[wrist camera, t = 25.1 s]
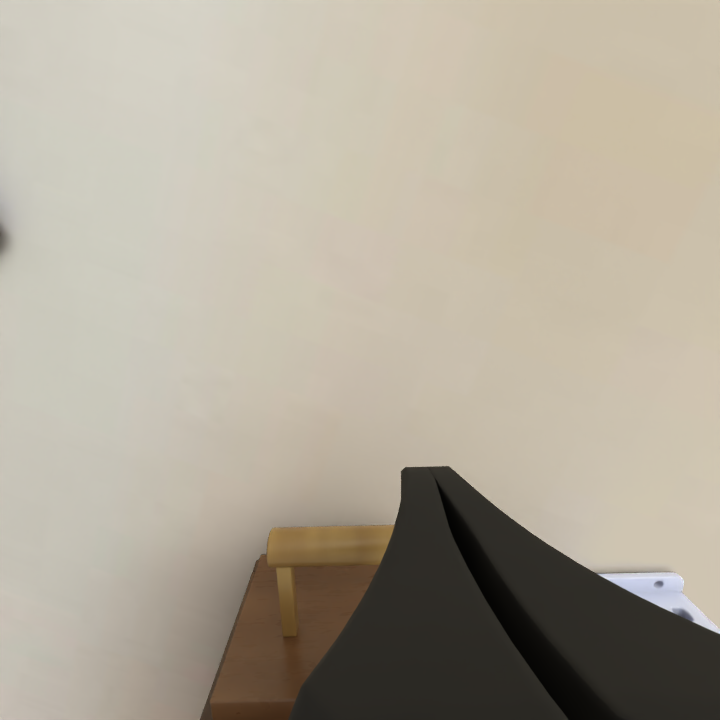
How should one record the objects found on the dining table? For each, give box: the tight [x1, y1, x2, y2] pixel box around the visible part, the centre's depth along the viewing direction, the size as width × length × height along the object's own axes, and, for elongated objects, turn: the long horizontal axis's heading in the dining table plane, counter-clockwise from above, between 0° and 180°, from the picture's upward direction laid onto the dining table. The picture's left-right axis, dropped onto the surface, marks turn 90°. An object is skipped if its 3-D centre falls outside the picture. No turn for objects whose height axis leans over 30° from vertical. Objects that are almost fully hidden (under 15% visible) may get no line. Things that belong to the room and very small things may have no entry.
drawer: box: [210, 525, 395, 720], centre depth 17 cm, size 18×11×7 cm, turn 1°
